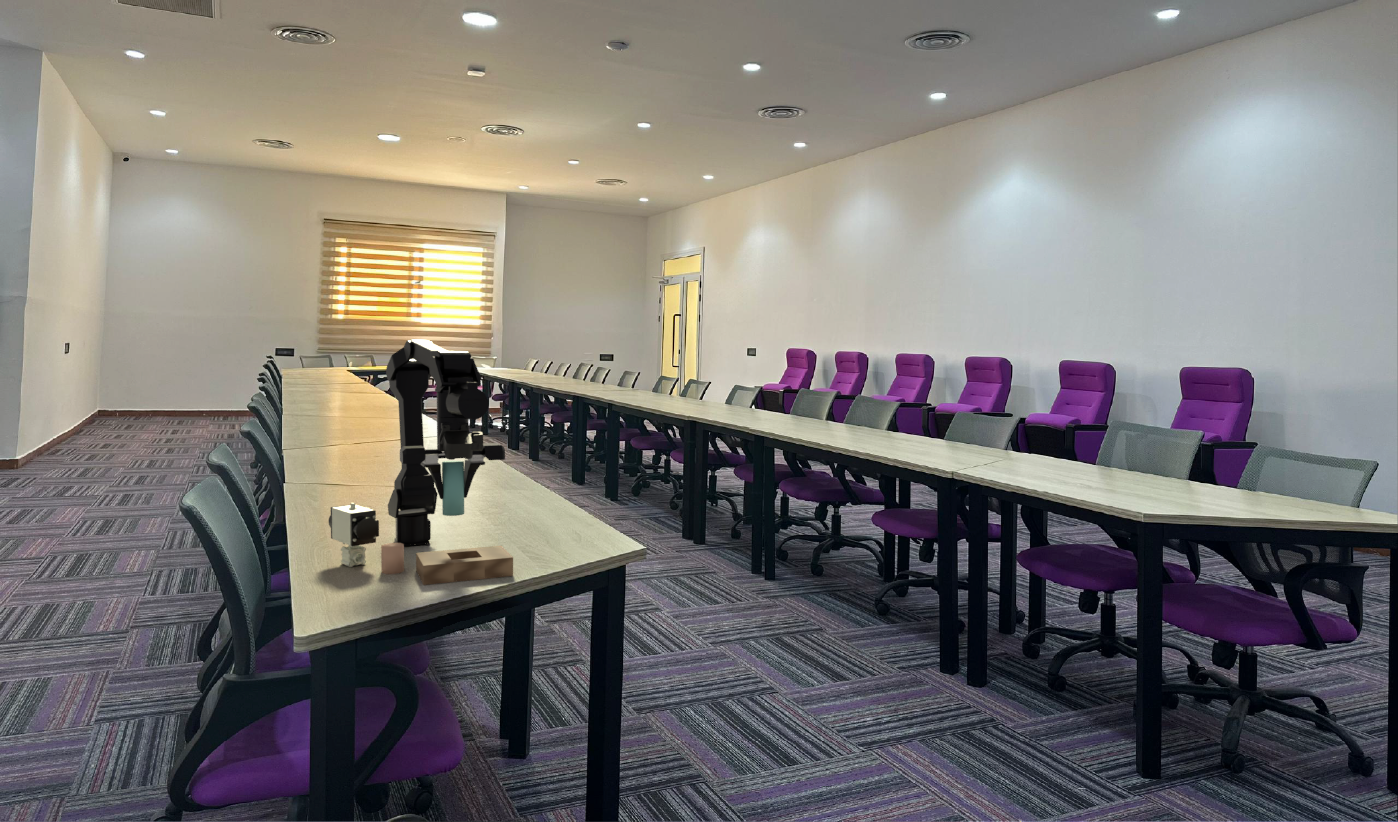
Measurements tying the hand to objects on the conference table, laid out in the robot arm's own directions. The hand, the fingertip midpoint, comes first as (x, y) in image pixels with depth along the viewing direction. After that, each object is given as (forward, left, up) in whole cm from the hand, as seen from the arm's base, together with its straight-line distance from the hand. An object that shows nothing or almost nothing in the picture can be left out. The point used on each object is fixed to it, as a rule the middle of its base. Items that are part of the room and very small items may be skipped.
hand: (453, 498), depth 157 cm
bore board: (+1, -5, -14) cm, 14 cm away
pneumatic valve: (-17, +10, -14) cm, 24 cm away
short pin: (-11, +2, -14) cm, 17 cm away
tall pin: (0, 0, -3) cm, 3 cm away
